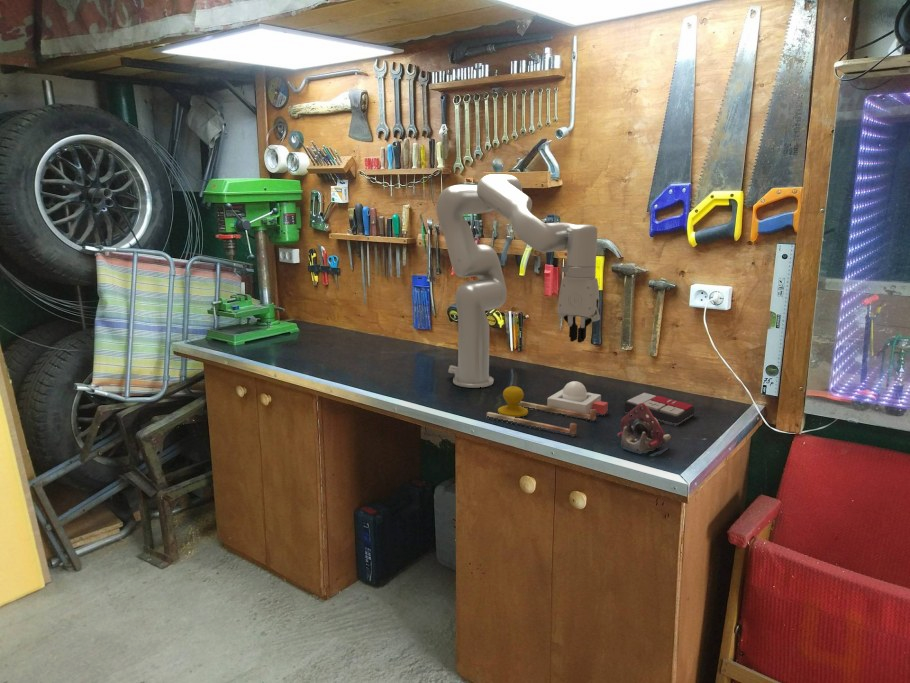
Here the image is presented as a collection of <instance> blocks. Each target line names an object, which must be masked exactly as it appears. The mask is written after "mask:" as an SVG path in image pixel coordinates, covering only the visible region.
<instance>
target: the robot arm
mask: <svg viewBox="0 0 910 683" xmlns="http://www.w3.org/2000/svg"><path fill="white" fill-rule="evenodd" d="M435 206H436V208H435V210H436V216H437V220H438V224H439V225H440V228H441V231H442V233H443V236H444V241H445V245H446V248H447V254H448V256H449V261H450V264H451V267H452V270H453V273H454V274H455V275H456V276H457V277H459V278H472V277H477V279H475V280H470V281H466V282H464V283H462V284H460V285H459V287H458V288H457V290H456V291H455V295H454V300H455V306H456V312H457V322H458V323H457V324H458V326H457V330H458V331H457V332H458V335H457V336H458V339H457V344H458V346H457V348H458V349H457V350H458V352H457V358H458V359H457V366H456V365H449V367H448V371H447V373H450V374H454V377H453V379H452V383H453V384H454V385H456V386H458V387H462V388H470V389H471V388H472V389H479V388H480V387H481V388H485V387H486V388H487V387H491V386H492V385H493V384H494V382H495V380H494V377H492V376H490V374H489V373H490V330H491V329H490V321H489V319H488V316H487V314H486V311H490V310H495V309H496V310H497V309H498V308H500V307H503V305H504V304H505V303H506V301H507V298H508V291H507V289H508V288H507V286H506V282H505V281H506V280H505V278H504V274H503V270H502V265H501V261H500V258H499V256H498V254H497V252H496V250H495V249H494V248H493V247H491V246H490V245H488V244H482V243H481V244H476V241H475V239H474V233H473V230H472V228H471V226H470V224H469V223H468V222H467V220H466V219H465V218H464V215H472V214H473V215H474V214H478V215H479V214H485V213H489V212H493V211H495V212H496V213H498V214H500V216H501V217H503V218H504V219H506V220H507V221H509V222H510V225H511V226H510V227H512V231H513V232H514V234H515V235H516V236H517V237H518V239H520V240H521V241H522V242H524V243H525V244H526V245H528V246H529V247H530V248H532V249H533V250H535V251H537V252H540V253H552V252H563V251H566V265H565V266H562V267H561V273H562V272H563V273H564V274H565V276H563V277H562V279H561V282H560V283H561V284H560V288H559V293H558V294H559V295H558V302H557V314H556V315H557V317H560V318H561V319H563V320H564V322H566V324H567V326H568V327H569V330H568V331H569V332H568V333H569V334H568V337H569V338H570V339H569V340H570V341H569V342H575V341H577V343H583V342H584V341H585V340H586V336H587V327H588V326H589V325H590V324H591V323H594V322H598V321H599V320H601V315H600V313H599V311H600V290H599V289H600V287H599V282H598V278H597V277H596V268H597V267H596V265H597V247H598V246H597V245H598V228H597V226H595V225H592V224H574V223H570V222H546V223H545V222H544V221H543V220H541V219H539V218H538V217H537V216H535V215H534V214H533V213H531V211H532V209H533V208H532V207H533V200H532V199H531V197H530V196H528V195H527V194H526V193H524V192H523V187H522V183H521V182H520V180H519V179H518V178H517V177H516V176H515V175H511V174H496V173H495V174H494V173H493V174H487V175H485V176H482V178H480V180H479V181H478V182H477V184H455V185H451V186H447V187H446V188H445V189H443V190H442V191H441V192H440V194H439V196H438V198H437V200H436V205H435ZM577 317H580V323H579V327H578V325H577Z"/></svg>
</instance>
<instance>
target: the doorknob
mask: <svg viewBox="0 0 910 683" xmlns="http://www.w3.org/2000/svg"><path fill="white" fill-rule="evenodd" d="M502 397H503V399H504V401H505V402H506V403H507V404H506V405H502V406H500V407H499V408H497V414H498V413H499V414H501V415H506V416H511V417H520V416H525V415H527V414H528V415H529V409H528V408H524V407H522V406H518V404H519V403H520V402H521V401H523V399H524V397H525V393H524V391H523V389H522V388H520V387H519V386H515V385H513V386H508V387H506V388H505V389H504V390H503V392H502ZM528 415H527V416H528Z"/></svg>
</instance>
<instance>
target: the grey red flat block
mask: <svg viewBox="0 0 910 683" xmlns="http://www.w3.org/2000/svg"><path fill="white" fill-rule="evenodd" d="M640 403H644V404H645V405H646V406H647V407H648V409H649V410H650V411H651V413H652V415H653V416H654V417H655V418H656V419H660V420H664V421H668V422H672V423H679V422H681V421H682V420H684V419H685V418H687V417H689V416H690V415H692V414H694V415H695V411H696V410H695V407H694V406H693V405H692V404H689V403H686V402H682V401H679V400H675V399H671V398H667V397H664V396H660V395H654V394H650V393H648V392H643V393H641V394H638V395H636V396H633V397H632V398H630V399H628V400H626V401H624V407H623V412H624V411H625V412H630V411H631V410H633V409H634V408H635V407H636V406H637V405H639V404H640ZM635 414H636V413H635ZM648 416H649V415H648Z"/></svg>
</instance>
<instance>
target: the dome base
mask: <svg viewBox="0 0 910 683" xmlns="http://www.w3.org/2000/svg"><path fill="white" fill-rule="evenodd" d="M563 389H564V388H562V389H561V390H559V391H557V392H555V393H554V394H552V395H550V396H549V397H547V399H546V401H547V402H546V403H547V404H546V406H549V407H554V408H559V409H564V410H569V411H575V412H580V413H585V414H589V413H590V409H596V413H600V414H605V413H606V412H607V411H608V410H609V409H608V408H609V402H607V401H602V395H601V394H599V393H592V392H588V391H587V397H586V400H584V401H583V402H578V401H573V400H567V399H563ZM608 412H609V411H608ZM608 412H607V413H608Z"/></svg>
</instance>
